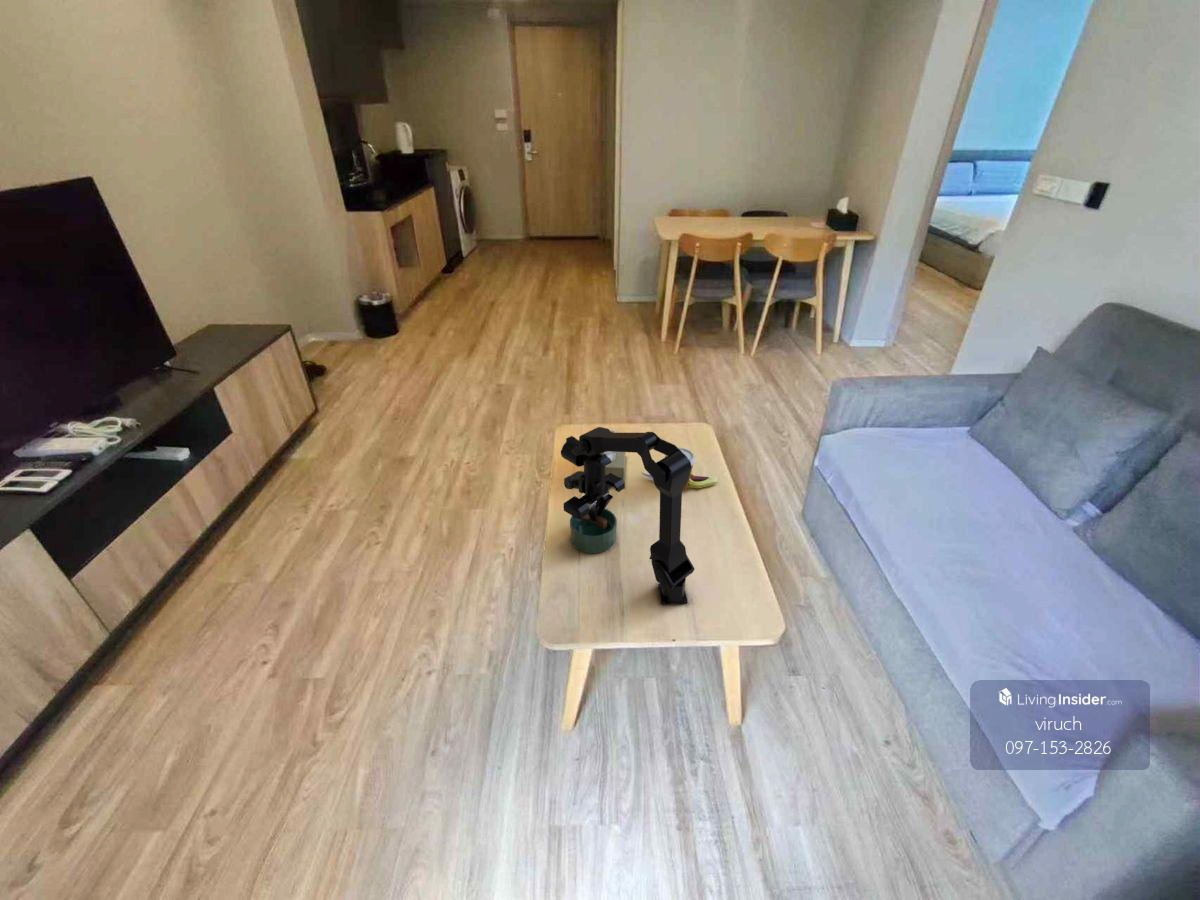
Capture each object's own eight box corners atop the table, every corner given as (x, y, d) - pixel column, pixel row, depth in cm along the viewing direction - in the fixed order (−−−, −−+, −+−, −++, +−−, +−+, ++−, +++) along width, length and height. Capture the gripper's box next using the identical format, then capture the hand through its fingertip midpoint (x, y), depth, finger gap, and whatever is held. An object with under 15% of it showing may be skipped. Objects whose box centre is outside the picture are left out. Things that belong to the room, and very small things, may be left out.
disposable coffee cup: (698, 490, 171) (701, 459, 165) (671, 497, 168) (674, 466, 162) (683, 475, 178) (686, 444, 172) (657, 481, 176) (659, 450, 169)
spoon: (609, 524, 148) (609, 518, 147) (600, 531, 145) (600, 525, 144) (586, 511, 153) (586, 504, 152) (577, 517, 150) (577, 511, 149)
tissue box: (623, 488, 172) (624, 447, 164) (593, 487, 173) (592, 446, 165) (625, 456, 188) (626, 417, 180) (597, 455, 189) (597, 416, 180)
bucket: (618, 553, 147) (618, 535, 144) (570, 555, 147) (570, 537, 143) (614, 522, 158) (614, 505, 155) (570, 524, 158) (569, 507, 154)
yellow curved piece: (639, 485, 174) (717, 491, 171) (639, 479, 172) (718, 484, 170) (641, 472, 180) (716, 477, 177) (641, 465, 179) (717, 470, 176)
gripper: (595, 447, 150) (596, 492, 159) (547, 476, 138) (550, 523, 147) (626, 462, 144) (625, 508, 152) (578, 494, 132) (580, 541, 141)
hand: (595, 519), depth 148 cm, fingers closed on spoon, 1 cm apart
